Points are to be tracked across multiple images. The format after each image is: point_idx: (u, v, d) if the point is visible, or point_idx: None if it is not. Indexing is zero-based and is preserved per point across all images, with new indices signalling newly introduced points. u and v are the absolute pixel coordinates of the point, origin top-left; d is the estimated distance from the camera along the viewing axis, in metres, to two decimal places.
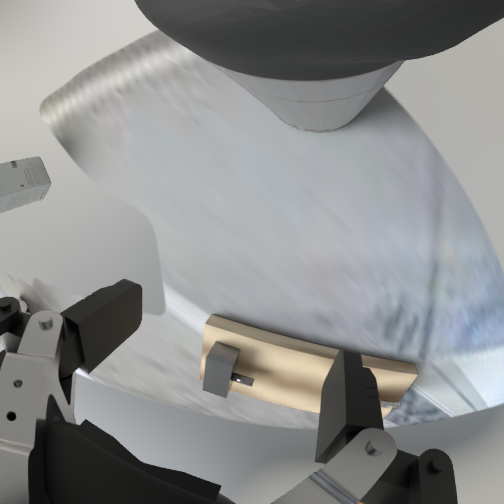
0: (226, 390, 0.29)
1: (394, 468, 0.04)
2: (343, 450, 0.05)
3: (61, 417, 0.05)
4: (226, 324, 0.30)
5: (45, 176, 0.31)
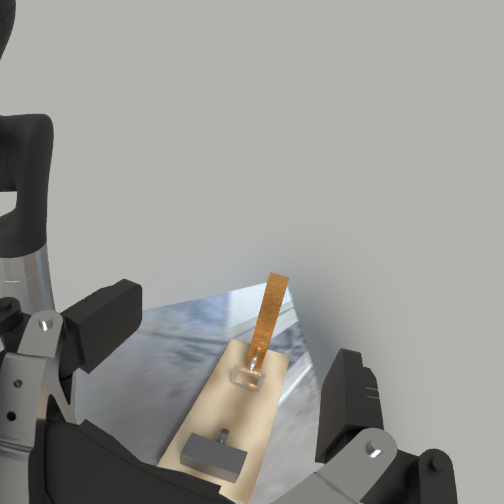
0: (232, 448, 0.22)
1: (394, 468, 0.04)
2: (343, 450, 0.05)
3: (61, 417, 0.05)
4: None
5: None
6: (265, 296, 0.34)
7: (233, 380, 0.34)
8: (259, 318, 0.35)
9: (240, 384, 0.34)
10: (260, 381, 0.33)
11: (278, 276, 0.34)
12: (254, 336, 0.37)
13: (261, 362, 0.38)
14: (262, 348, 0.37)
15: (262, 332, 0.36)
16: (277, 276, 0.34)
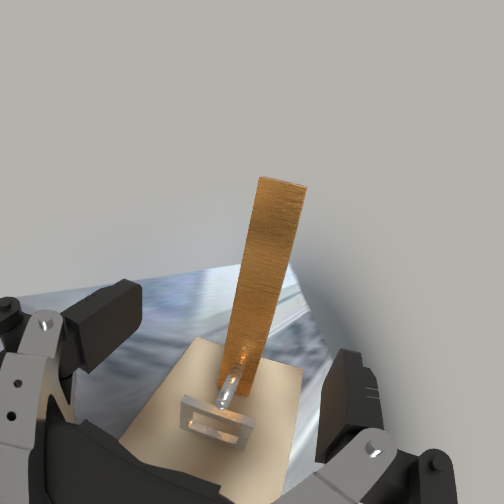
0: None
1: (394, 468, 0.04)
2: (343, 450, 0.05)
3: (61, 417, 0.05)
4: None
5: None
6: (252, 229, 0.14)
7: (185, 425, 0.14)
8: (240, 287, 0.15)
9: (201, 434, 0.14)
10: (244, 433, 0.13)
11: (282, 181, 0.14)
12: (230, 331, 0.16)
13: (248, 385, 0.17)
14: (249, 357, 0.17)
15: (248, 320, 0.16)
16: (280, 180, 0.14)
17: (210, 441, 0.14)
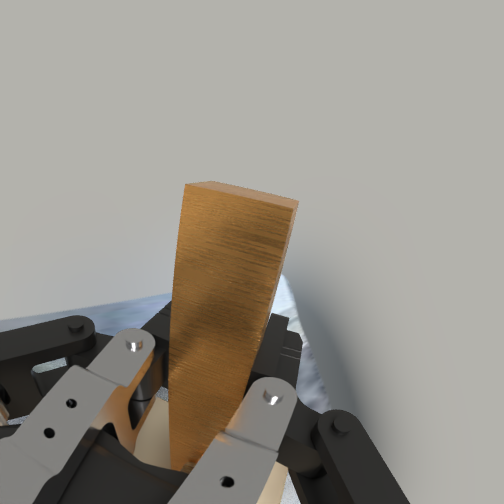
0: None
1: (297, 423, 0.06)
2: (242, 404, 0.06)
3: None
4: None
5: None
6: (180, 295, 0.07)
7: None
8: (174, 384, 0.08)
9: None
10: None
11: (243, 190, 0.07)
12: (173, 432, 0.09)
13: None
14: None
15: (194, 426, 0.08)
16: (238, 190, 0.06)
17: None
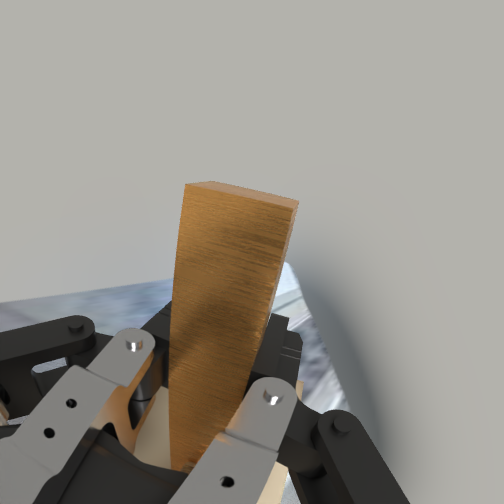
0: None
1: (297, 423, 0.06)
2: (242, 404, 0.06)
3: (116, 441, 0.05)
4: None
5: None
6: (180, 294, 0.07)
7: None
8: (174, 384, 0.08)
9: None
10: None
11: (243, 190, 0.07)
12: (173, 431, 0.09)
13: None
14: None
15: (195, 426, 0.08)
16: (238, 190, 0.06)
17: None
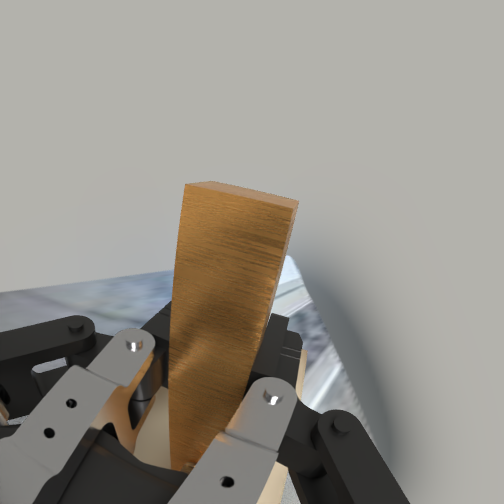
0: None
1: (297, 423, 0.06)
2: (242, 404, 0.06)
3: (116, 441, 0.05)
4: None
5: None
6: (180, 295, 0.07)
7: None
8: (174, 384, 0.08)
9: None
10: None
11: (243, 190, 0.07)
12: (173, 432, 0.09)
13: None
14: None
15: (194, 426, 0.08)
16: (238, 190, 0.06)
17: None
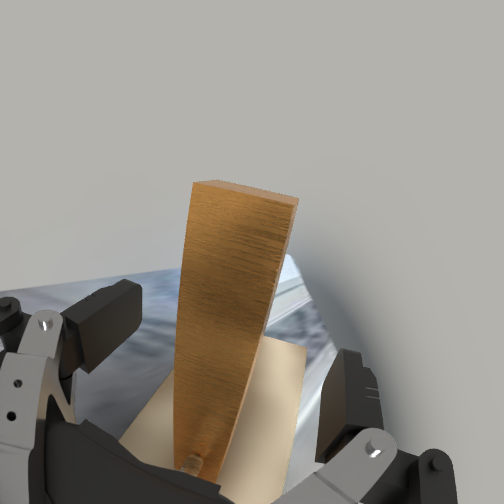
0: None
1: (394, 468, 0.04)
2: (343, 450, 0.05)
3: (61, 417, 0.05)
4: None
5: None
6: (187, 287, 0.07)
7: None
8: (179, 375, 0.08)
9: None
10: None
11: (247, 188, 0.07)
12: (176, 423, 0.09)
13: (213, 475, 0.10)
14: (209, 453, 0.09)
15: (198, 417, 0.09)
16: (242, 188, 0.07)
17: None
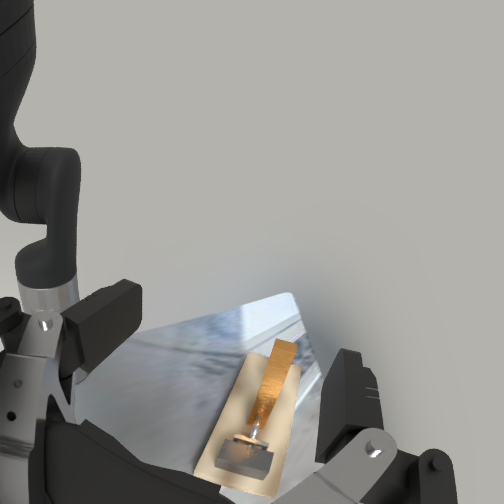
0: (261, 450, 0.25)
1: (394, 468, 0.04)
2: (343, 450, 0.05)
3: (61, 417, 0.05)
4: None
5: None
6: (269, 365, 0.28)
7: None
8: (262, 386, 0.29)
9: None
10: (263, 449, 0.26)
11: (284, 344, 0.28)
12: (256, 402, 0.30)
13: (264, 423, 0.31)
14: (265, 412, 0.30)
15: (265, 398, 0.29)
16: (283, 344, 0.28)
17: None
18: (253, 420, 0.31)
